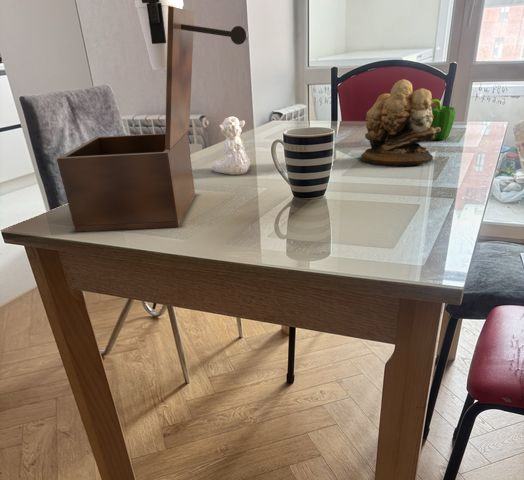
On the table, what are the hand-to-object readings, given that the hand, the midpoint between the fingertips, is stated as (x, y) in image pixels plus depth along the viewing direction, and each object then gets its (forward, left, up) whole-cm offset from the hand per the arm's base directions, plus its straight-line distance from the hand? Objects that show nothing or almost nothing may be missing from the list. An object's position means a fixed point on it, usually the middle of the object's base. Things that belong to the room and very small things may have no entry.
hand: (164, 43), depth 103 cm
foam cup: (0, 0, -5) cm, 5 cm away
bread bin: (-4, -27, -27) cm, 38 cm away
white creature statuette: (+12, +2, -27) cm, 30 cm away
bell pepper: (+65, +29, -27) cm, 77 cm away
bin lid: (+7, -27, -5) cm, 28 cm away
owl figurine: (+50, +5, -27) cm, 57 cm away
